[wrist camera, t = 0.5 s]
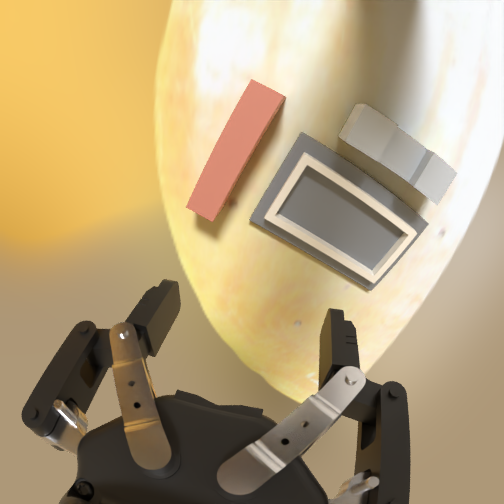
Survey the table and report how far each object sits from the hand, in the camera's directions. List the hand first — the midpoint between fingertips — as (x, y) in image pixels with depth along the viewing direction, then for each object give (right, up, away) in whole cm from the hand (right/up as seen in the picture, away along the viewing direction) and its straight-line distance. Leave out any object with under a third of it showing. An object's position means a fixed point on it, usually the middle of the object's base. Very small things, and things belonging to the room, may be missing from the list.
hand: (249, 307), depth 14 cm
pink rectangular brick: (-2, +17, +21) cm, 27 cm away
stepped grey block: (+18, +16, +17) cm, 30 cm away
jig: (+13, +8, +23) cm, 27 cm away
